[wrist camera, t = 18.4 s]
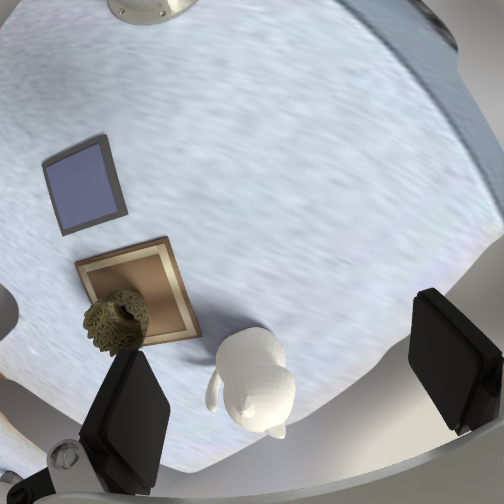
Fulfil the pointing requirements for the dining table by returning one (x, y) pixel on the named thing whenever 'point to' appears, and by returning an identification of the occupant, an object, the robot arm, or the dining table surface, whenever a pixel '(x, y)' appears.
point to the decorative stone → (10, 479)
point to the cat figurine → (253, 382)
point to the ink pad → (84, 186)
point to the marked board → (145, 287)
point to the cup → (117, 321)
